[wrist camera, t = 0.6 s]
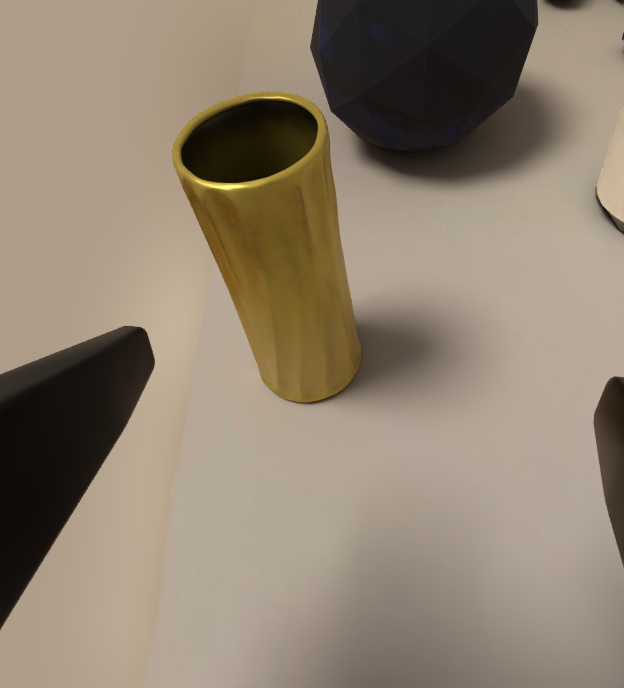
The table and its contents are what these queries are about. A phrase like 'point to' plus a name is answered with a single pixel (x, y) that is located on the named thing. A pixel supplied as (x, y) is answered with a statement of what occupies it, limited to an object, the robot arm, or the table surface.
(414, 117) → the decorative orb
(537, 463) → the table surface
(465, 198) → the table surface
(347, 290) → the vase
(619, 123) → the cup
